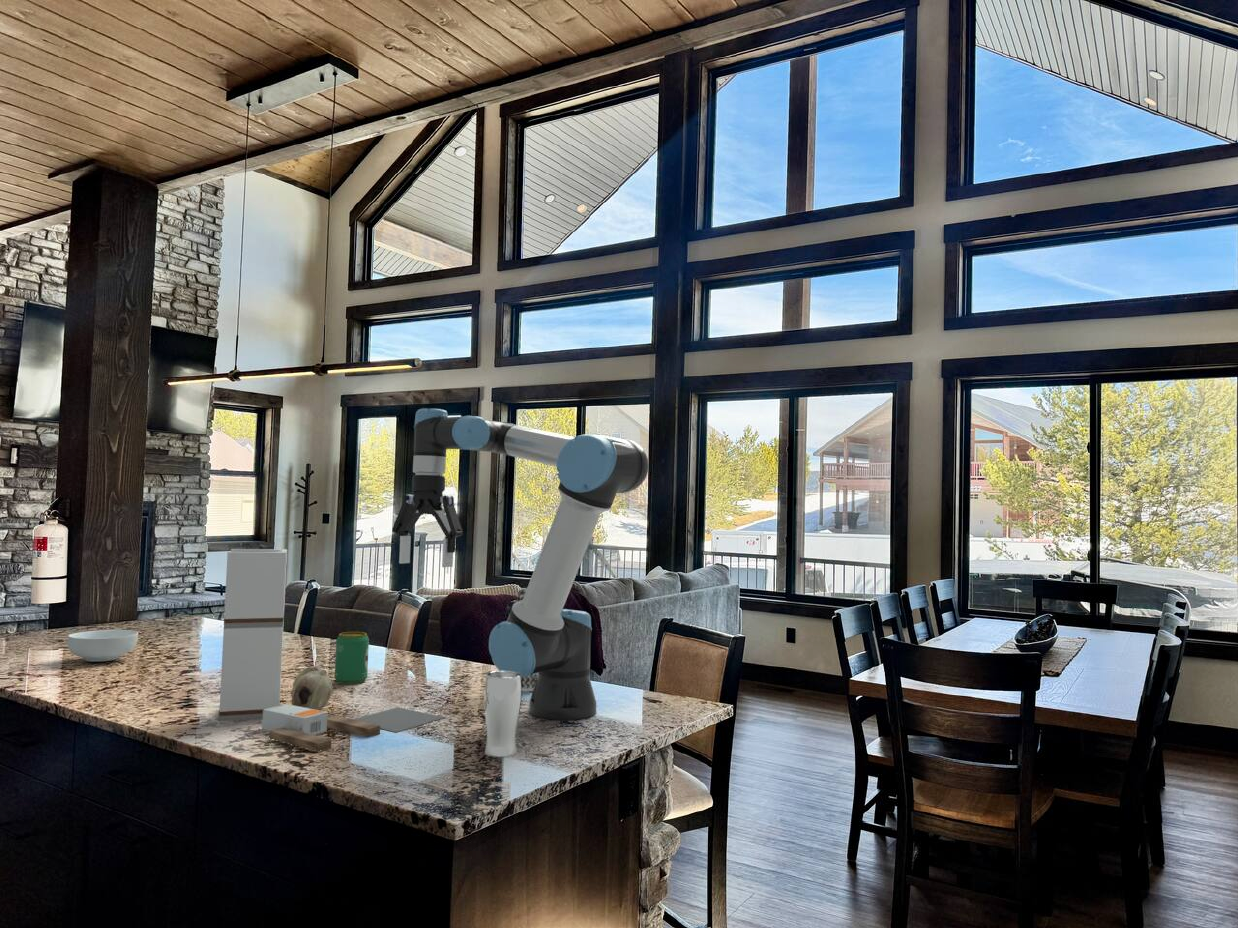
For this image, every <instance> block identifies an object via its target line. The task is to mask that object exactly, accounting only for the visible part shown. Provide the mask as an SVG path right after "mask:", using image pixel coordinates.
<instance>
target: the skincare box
mask: <svg viewBox="0 0 1238 928" xmlns="http://www.w3.org/2000/svg"><path fill="white" fill-rule="evenodd" d="M327 716H328V712H327V711H323V710H321V711H320V710H315V709H309V708H304V707H299V706H294V705H292V704H287V703H286V704H282V705H280V706H277V707H272V708H268V709H264V710H263V718H262V720H261V721H262V723H261V729H262V730H263V731H264V730H265V731H268V732H269V731H270V730H274V729H278V728H282V727H283V728H287V729H291V730H295V731H299V732H303V733H307V734H311V735H315V736H317V735H318V734H323V733H325V732H328V731H327V730H328V728H327Z"/></svg>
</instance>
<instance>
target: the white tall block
mask: <svg viewBox="0 0 1238 928" xmlns="http://www.w3.org/2000/svg"><path fill="white" fill-rule="evenodd" d="M226 554H227V559H226V574H225V575H226V577H225V592H224V593H225V594H224V612H223V613H224V617H223V632H222V633H223V634H222V635H223V636H222V652H221V653H222V655H221V674H220V675H221V676H220V677H221V678H220V695H219V715H218V716H219V717H218V722H219V721H220V722H222V721H238V720H239V721H241V720H253V719H254V720H256V719H263V710H264V709H268V708H272V707H277V706H281V705H280V704H281V685H282V667H283V665H282V664H283V645H284V644H283V642H284V641H283V640H284V624H285V622H284V621H285V606H286V605H285V602H286V601H285V600H286V579H287V578H286V577H287V562H288V561H287V559H288V549H287V548H285V549H283V548H282V549H280V548H277V549H276V548H275V549H274V548H272V549H271V548H268V549H267V548H262V549H260V548H247V549H246V548H231V550H230V551H227V553H226Z"/></svg>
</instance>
